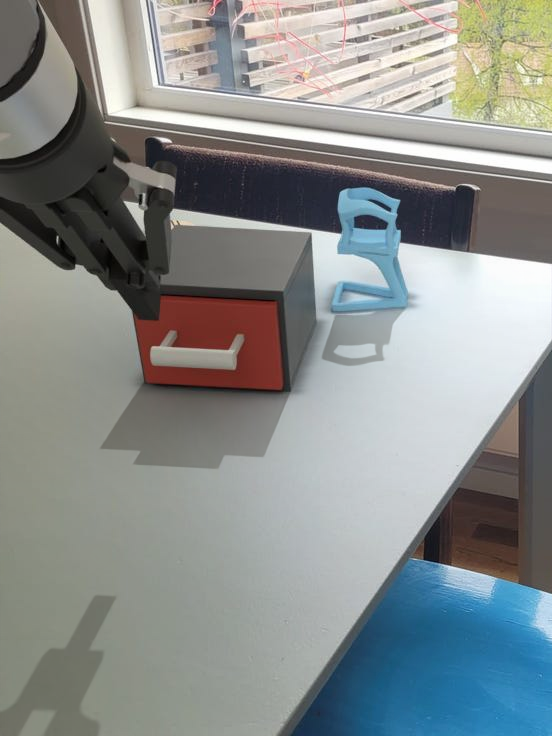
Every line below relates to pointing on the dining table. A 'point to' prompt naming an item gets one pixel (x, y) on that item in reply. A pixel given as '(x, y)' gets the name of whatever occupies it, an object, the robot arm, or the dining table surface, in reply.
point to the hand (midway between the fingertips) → (150, 302)
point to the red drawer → (212, 343)
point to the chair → (370, 249)
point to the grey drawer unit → (249, 279)
